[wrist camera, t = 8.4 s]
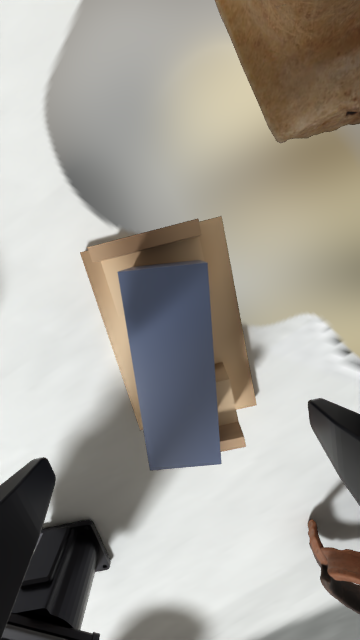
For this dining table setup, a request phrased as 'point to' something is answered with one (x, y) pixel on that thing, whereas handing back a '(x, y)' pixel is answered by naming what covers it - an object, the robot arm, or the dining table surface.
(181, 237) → the display cradle
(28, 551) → the robot arm
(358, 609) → the pottery mug
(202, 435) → the tall slate-blue box
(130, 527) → the dining table surface
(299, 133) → the stone cup
